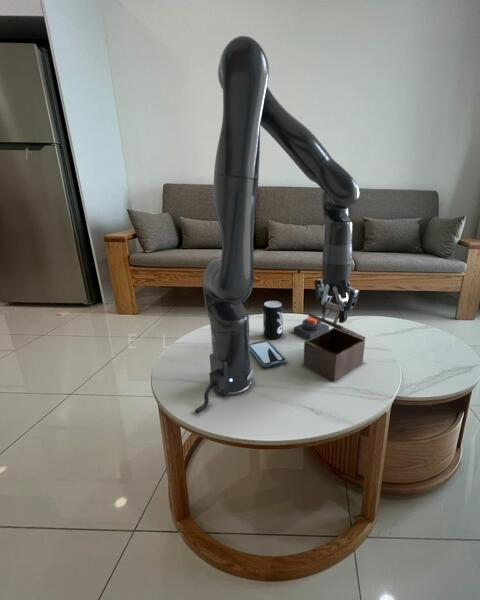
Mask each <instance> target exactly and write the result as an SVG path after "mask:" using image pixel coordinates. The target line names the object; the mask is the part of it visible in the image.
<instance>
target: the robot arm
mask: <svg viewBox="0 0 480 600" xmlns="http://www.w3.org/2000/svg"><path fill="white" fill-rule="evenodd" d="M269 77H270V66H269V60H268V57H267V55H266V52H265V50H264V49H263V47H262V45H260V43H259V42H258V41H257V40H255V39H254V38H253V37H251V36H248V35H238V36H236V37H234V38H232V39H231V40H230V41H229V42H228V43H227V44H226V45H225V46H224V48H223V50H222V51H221V54H220V58H219V63H218V68H217V78H218V83H219V85H220V88H221V90H222V122H221V127H220V134H219V138H218V141H217V142H218V143H217V148H216V154H215V161H214V169H213V170H214V171H213V185H212V186H213V187H212V189H213V190H212V197H213V206H214V211H215V215H216V219H217V223H218V227H219V231H220V235H221V236H220V237H221V257H218V258H215V259H214V260H212V261H210V262H209V263H208V264H207V266H206V267H205V268H204V271H203V276H202V289H203V290H202V291H203V297H204V303H205V304H204V305H205V312H206V315H207V317H208V320H209V326H210V335H211V336H210V338H211V348H212V350H211V351H212V353H209V366H210V372H209V373H208V375H209V385H208V387H206V389H205V391H204V394H203V400H204V401H203V404H202V405H200V406H199V407H197V408H195V410H194V412H195V413H196V414H199V413H201V412H203V411H204V410H205V409H206V408H207V407H208V405H209V401H210V399H209V396H210V392H211V391H212V389H213V388H214V390H216V391H217V392H218V393H220V394H221V395H222V396H223V397H228V396H234V395H239V394H243V392H246V391H247V390H249V389H250V387H251V386H252V375H253V373H254V370H253V369H254V368H253V369H252V367H251V351H250V343H251V342H250V340H251V339H250V316H249V313H248V311H247V310H246V308H245V306H244V304H243V303H244V302H245V301H246V300H247V299H248V298H249V297H250V296H251V294H252V290H253V288H254V282H255V281H254V280H255V270H254V269H255V267H254V264H255V263H254V262H255V261H254V239H255V237H254V236H255V224H256V212H257V211H256V210H257V201H258V192H259V180H260V179H259V178H260V156H261V127H262V128H263V129H264V130H265V131H266V133H267V134H268V135H270V136H271V137H272V139H273V140H274V141H276V143H277V144H278V145H279V146H280V148H282V150H283V151H284V152H285V154H287V155H288V156H289V158H290V160H292V162H294V164H295V165H296V166H297V167H298V168H299V169H300V171H301V172H302V173H303V174H304V175H305V176H306V177H307V178H308V179H309V180H310V181H312V182H314V183H315V184H316V185H318V186H319V188H320V189H321V191H322V195H321V202H322V203H321V205H322V213H323V219H324V238H323V239H324V242H323V248H322V269H321V270H322V271H321V275H322V277H323V278H322V277H320V278H317V279H314V281H313V283H314V290H315V297H316V300H317V301H318V302H319V301H320V303H321V314H322V315H323V314H324V312H325V310H326V308H325V305H326V303H327V302H330V303H331V300H332V298H335V300H336V303H337V304H338V305H339V307H340V311H339V319H338V323H339V324H344V323H345V322H346V321H347V320H348V312H349V311H351V310H353V309H355V307H356V304H357V301H358V298H359V296H360V295H359V293H360V289H359V288H354V287H353V286H351V283H350V279H351V276H352V264H353V262H352V261H353V234H354V233H353V231H354V230H353V229H354V224H353V222H352V220H351V219H350V217H349V209H351V208H353V207H354V206H355V205H356V204H357V202H358V201H359V199H360V188H359V185H358V184H357V183H358V182H357V181H356V180H355V178H354V177H353V176H352V175H351V174H350V173H349V172H348V171H347V170H346V169H345V168H344V167H343V166H341V164H339V163H338V162H337V161H336V160H335V159H334V158H333V157H332V156H331V154H330V153H329V151H328V150H327V149H326V148H325V146H324V145H323V144H322V143H321V141H320V140H319V139H318V138H317V136H316V135H315V134H314V133H313V132H312V131H311V130H310V129H309V128H308V127H307V126H306V125H304V123H302V122H301V121H300V120H298V119H297V118H296V117H294V116H293V114H291V113H290V112H289V111H287V109H286V108H285V107H284V106H283V105H282V104H281V103H280V102H279V100H277V99H276V97H275V96H274V95H273V93H272V91H271V90H270V88H269V86H268V82H269ZM330 315H331V310H329V311H328V313H327V316H326V318H327V317H329V316H330Z"/></svg>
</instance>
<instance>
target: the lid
mask: <svg viewBox="0 0 480 600" xmlns="http://www.w3.org/2000/svg"><path fill="white" fill-rule="evenodd" d="M325 308H326V310H325V312H324V314H322V317H320V316H319V315H318V316H317V315H315V314H312V313H309V312H308V314H307V317H312V318H314V319H316V320H318V321H321V323H323V324H325V325H328V326H329V327H332V328H336V329H339V330H341V331H344V332H346V333H349V334H351V335H354V336H356V337H358V338H361V339H363V340H365V341H366V339H367V338H366V336H363V335H361V333H358V332H355V331H354V330H352V329H349V328H347V327H345V326H343V325H340V324H338V322H339V311H340V307H339V304H336V303H332V302H331V301H330V302H327V303H326V305H325ZM329 310H330V312H335V313H336V315H335V317H334V319H333V321H330V320H327V319H326V318H327V317H328V316H327V313H328V311H329ZM326 316H327V317H326Z"/></svg>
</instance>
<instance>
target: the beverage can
mask: <svg viewBox="0 0 480 600" xmlns="http://www.w3.org/2000/svg"><path fill="white" fill-rule="evenodd" d="M263 304H264V306H262V307H263V308H262V319H263V320H262V321H263V323H262V324H263V337H265V339H267V340H278V339H280V338H282V336H283V335H284V333H283V332H284V331H283V330H284V329H283V328H284V325H283V323H284V308H283V306H282V302H281V301H277V300H269V301H268V300H267V301H266V302H264V303H263Z"/></svg>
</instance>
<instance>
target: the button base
mask: <svg viewBox="0 0 480 600" xmlns="http://www.w3.org/2000/svg"><path fill="white" fill-rule="evenodd" d="M328 330H330V326H329V325H327V324H325V323H323V322H321V321H318V320H317V324H313V325H311V324H307V318H305V319H303V320H302V323H300V324H298V325H296V326H294V327H293V333H294V334H296V335H298V336H300V337H302V338H304V339H307V340H309V339H311V338H313V337H315V336H317V335H319V334H321V333H324V332H326V331H328Z"/></svg>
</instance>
